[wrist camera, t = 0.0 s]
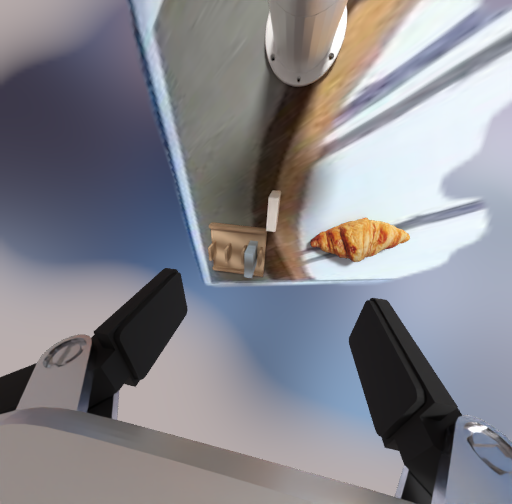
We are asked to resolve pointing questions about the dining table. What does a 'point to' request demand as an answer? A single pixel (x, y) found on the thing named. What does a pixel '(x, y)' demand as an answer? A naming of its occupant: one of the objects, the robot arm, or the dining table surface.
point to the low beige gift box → (273, 210)
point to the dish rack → (238, 249)
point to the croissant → (359, 239)
